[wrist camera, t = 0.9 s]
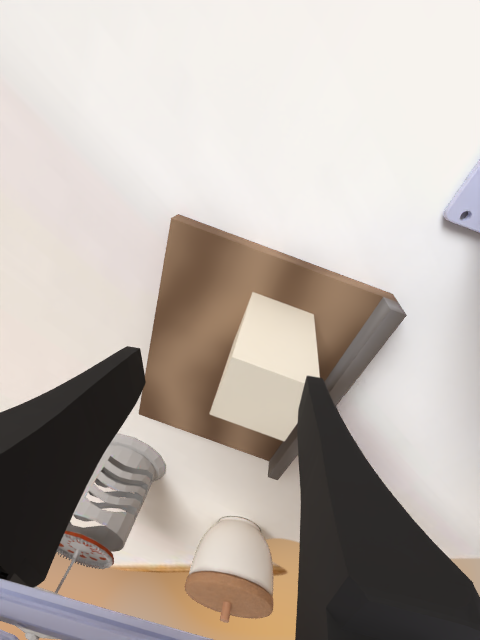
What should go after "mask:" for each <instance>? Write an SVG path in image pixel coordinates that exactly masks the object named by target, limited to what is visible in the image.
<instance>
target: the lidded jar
mask: <svg viewBox="0 0 480 640" xmlns="http://www.w3.org/2000/svg"><path fill="white" fill-rule="evenodd" d="M185 591H186V593H187V594H188V595H189V596H190V597H191V598H192V599H193V600H195V601H196V602H198V603H200V604H201V605H203V606H205V607H207V608H210V609H212V610H215V611H218V612H221V617H220V620H221V621H223V622H229V616H230V615H232V616H237V617H243V618H263V617H267V616H269V615H270V614H271V613H272V611H273V565H272V558H271V553H270V550H269V547H268V544H267V542H266V540H265V539H264V537H263V536H262V534H261V533H260V528H259V527H258V526H257V525H256V524H255V523H253V522H252V521H250V520H247V519H244V518H241V517H235V516H227V517H223V518H221V519H220V520H219V521H218V523H216V524H215V525H213V526H212V527H211V528H210V529H209V530H208V531H207V532H206V533H205V534H204V536H203V537H202V539H201V541H200V543H199V545H198V547H197V550H196V552H195V555H194V558H193V561H192V565H191V568H190V572H189V575H188V577H187V580H186V584H185Z"/></svg>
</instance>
